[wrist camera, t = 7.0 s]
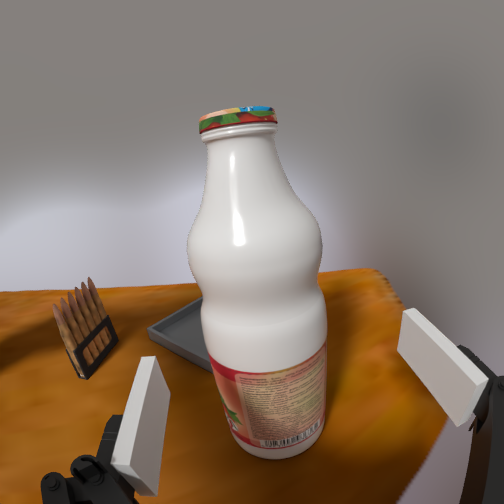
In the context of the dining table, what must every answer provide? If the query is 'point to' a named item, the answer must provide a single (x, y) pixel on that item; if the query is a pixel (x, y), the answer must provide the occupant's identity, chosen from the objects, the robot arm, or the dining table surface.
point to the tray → (183, 334)
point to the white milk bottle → (259, 288)
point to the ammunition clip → (85, 330)
